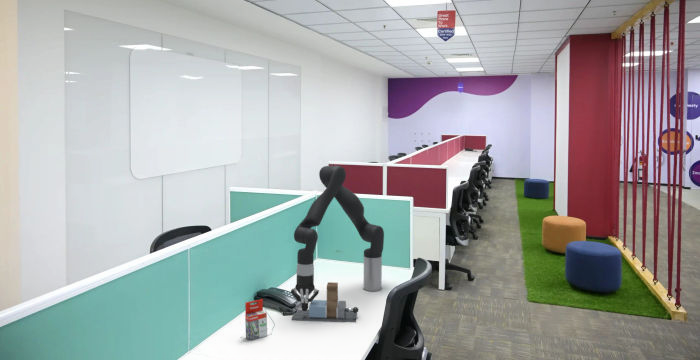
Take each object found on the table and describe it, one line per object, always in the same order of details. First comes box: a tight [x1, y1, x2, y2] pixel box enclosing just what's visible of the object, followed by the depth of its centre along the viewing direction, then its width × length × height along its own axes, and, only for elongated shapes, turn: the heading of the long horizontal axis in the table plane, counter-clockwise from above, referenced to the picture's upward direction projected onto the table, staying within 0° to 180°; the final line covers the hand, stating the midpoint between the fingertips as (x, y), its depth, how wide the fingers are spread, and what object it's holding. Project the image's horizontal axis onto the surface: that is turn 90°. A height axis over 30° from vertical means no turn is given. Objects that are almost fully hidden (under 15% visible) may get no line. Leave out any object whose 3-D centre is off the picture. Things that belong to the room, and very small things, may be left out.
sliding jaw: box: [308, 299, 327, 318], centre depth 221 cm, size 8×8×5 cm
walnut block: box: [326, 281, 339, 317], centre depth 220 cm, size 4×4×14 cm
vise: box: [291, 300, 359, 323], centre depth 221 cm, size 10×29×6 cm, turn 86°
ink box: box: [244, 298, 268, 341], centre depth 200 cm, size 4×8×15 cm, turn 124°
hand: (304, 310), depth 222 cm, fingers closed
